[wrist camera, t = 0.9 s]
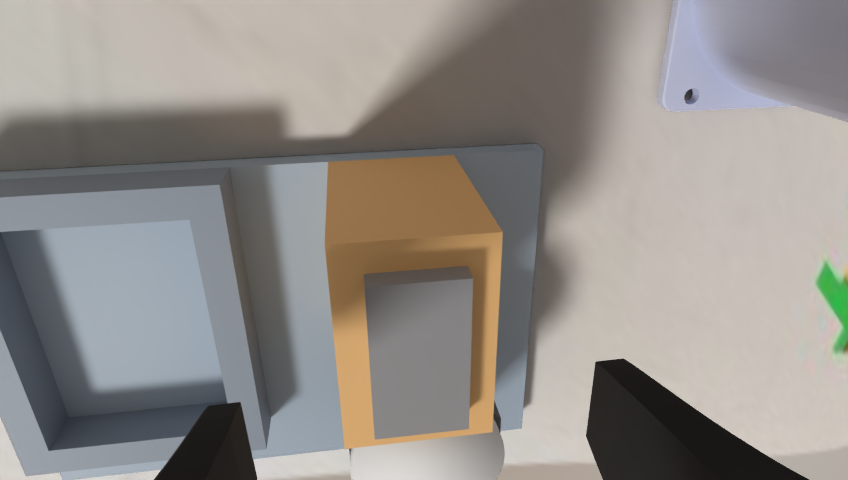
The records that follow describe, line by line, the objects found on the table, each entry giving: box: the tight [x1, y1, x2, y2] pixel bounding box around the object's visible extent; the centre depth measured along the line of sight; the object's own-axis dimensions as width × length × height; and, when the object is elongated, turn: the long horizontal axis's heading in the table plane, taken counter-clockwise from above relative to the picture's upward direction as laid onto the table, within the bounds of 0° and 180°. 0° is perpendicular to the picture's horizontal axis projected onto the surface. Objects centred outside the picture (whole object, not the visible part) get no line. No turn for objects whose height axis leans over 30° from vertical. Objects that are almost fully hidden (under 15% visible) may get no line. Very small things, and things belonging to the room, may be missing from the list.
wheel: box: [349, 401, 504, 480], centre depth 19 cm, size 5×5×3 cm
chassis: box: [0, 144, 544, 480], centre depth 20 cm, size 18×12×3 cm, turn 91°
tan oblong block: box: [325, 155, 503, 449], centre depth 16 cm, size 4×6×7 cm, turn 1°
